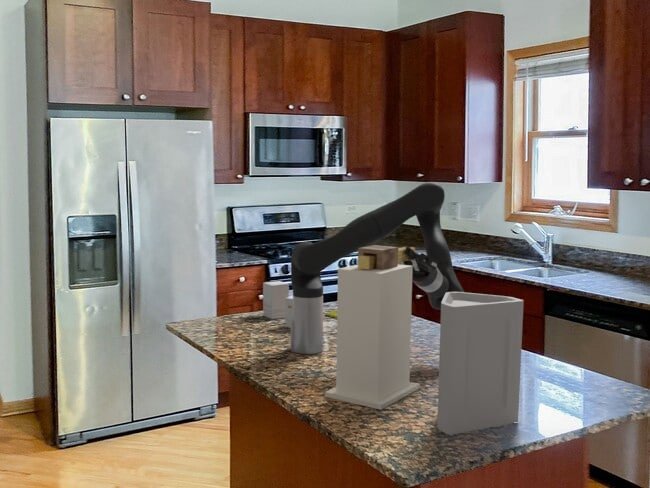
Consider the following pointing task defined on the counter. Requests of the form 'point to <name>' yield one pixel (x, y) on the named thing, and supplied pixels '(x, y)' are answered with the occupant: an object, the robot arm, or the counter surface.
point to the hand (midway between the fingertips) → (400, 249)
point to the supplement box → (274, 299)
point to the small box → (288, 311)
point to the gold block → (371, 259)
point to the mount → (374, 331)
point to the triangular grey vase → (479, 361)
